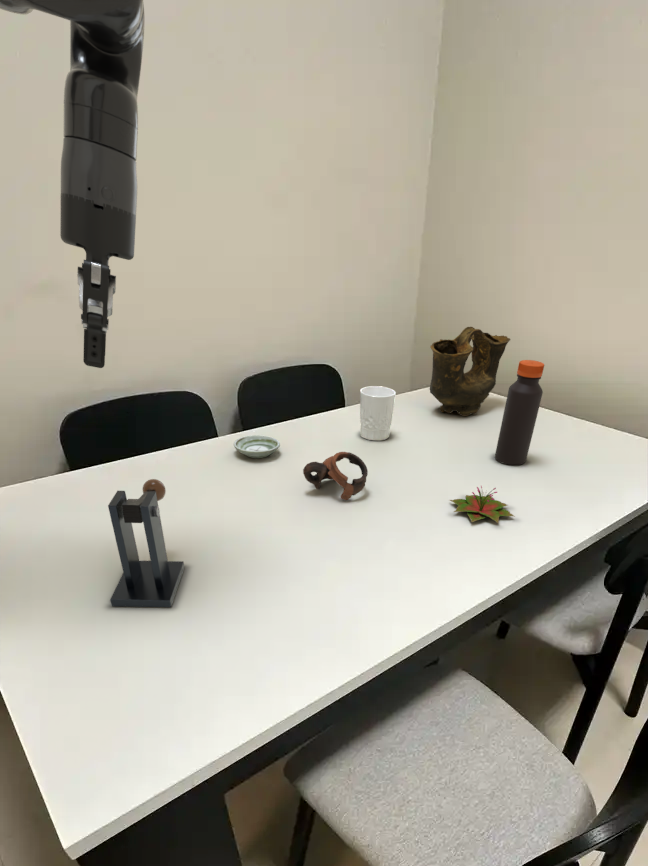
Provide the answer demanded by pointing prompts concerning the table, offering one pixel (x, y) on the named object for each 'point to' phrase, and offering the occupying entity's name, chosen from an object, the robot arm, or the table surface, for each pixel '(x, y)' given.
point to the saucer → (257, 445)
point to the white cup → (376, 412)
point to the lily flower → (481, 507)
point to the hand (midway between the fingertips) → (94, 361)
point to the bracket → (143, 578)
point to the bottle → (520, 414)
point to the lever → (133, 505)
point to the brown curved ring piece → (337, 473)
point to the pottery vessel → (473, 385)
